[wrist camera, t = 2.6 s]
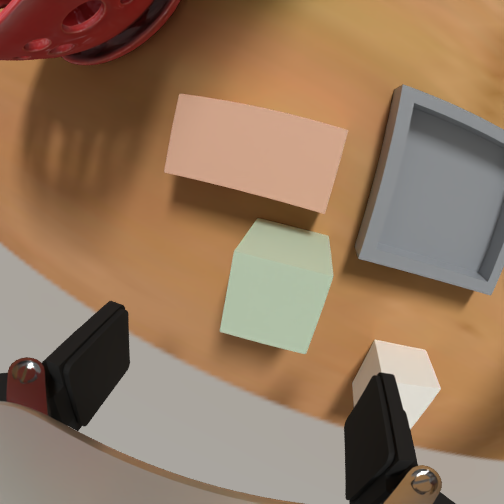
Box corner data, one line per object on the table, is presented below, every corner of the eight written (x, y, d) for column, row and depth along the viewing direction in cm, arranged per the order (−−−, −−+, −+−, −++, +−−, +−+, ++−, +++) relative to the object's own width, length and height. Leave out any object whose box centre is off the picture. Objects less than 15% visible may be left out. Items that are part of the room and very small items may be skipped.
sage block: (328, 235, 19) (333, 276, 14) (309, 298, 21) (305, 354, 15) (257, 217, 20) (234, 250, 14) (244, 281, 21) (219, 331, 16)
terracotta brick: (342, 131, 17) (348, 130, 14) (323, 202, 19) (324, 214, 16) (198, 98, 18) (179, 93, 15) (184, 166, 20) (164, 172, 17)
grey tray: (521, 147, 14) (537, 150, 12) (479, 282, 18) (491, 295, 16) (394, 89, 15) (402, 84, 13) (354, 246, 19) (358, 258, 17)
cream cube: (425, 349, 21) (440, 388, 16) (400, 390, 22) (409, 430, 18) (374, 338, 21) (383, 380, 17) (352, 382, 23) (354, 424, 19)
